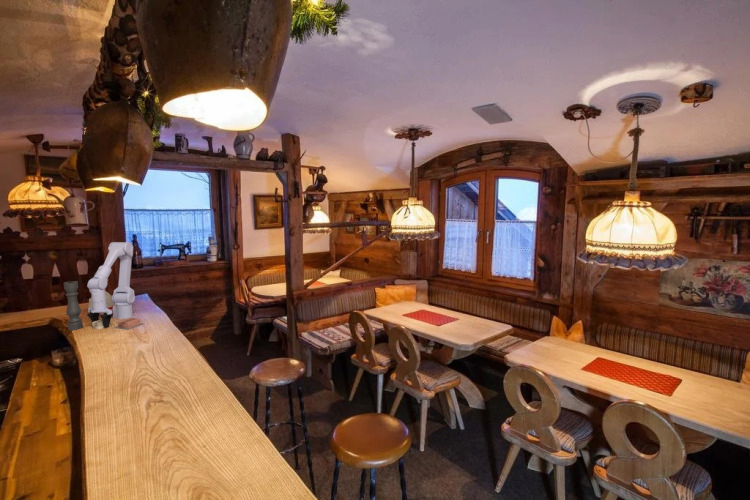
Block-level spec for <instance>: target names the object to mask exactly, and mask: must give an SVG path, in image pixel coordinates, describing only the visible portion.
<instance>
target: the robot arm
mask: <svg viewBox="0 0 750 500" xmlns="http://www.w3.org/2000/svg"><path fill="white" fill-rule="evenodd" d="M107 250H108V253H107V256H106V258H105V261H104V263H103V264H102V265H100V266H99V267H98V269H97V271H96V272H95V274H94V276H93V277H92V278H90V279H89V280H88V282H87V286H86V287H87V288H88V290H89V293H90V295H91V297H92V306H93V308H89V309H87V311H88V313H87V314H86V315H87V317H88V318H89V319H90V320H91V323H92V322H95V321H98V320H102V321H103V325H104V328H103V329H106V328H110V326H109V324H110V325H111V319H112V317H113V319H118V320H119V319H120V320H125V319H128V318H133V316H134V314H133V303H134V302H135V300H136V296H135V290H134V289H133V288H132V287H130V286H131V273H132V262H133V261H132V260H133V256H134V245H133V244H132V243H131V242H129V241H127V242H124V241H123V242H121V241H118V242H115V241H112V242H110V244H109V245H108V247H107ZM118 258H119V260H120V262H119V273H118V274H119V275H118V285H117V287H116V288H115V289H114V290H113V294H112V295H111V296H112V301H113V303H115V305H114V306H113V309H111V310H109V309H107V308H106V297H105V288H106V289H107V287H108V281H109V276H110V275H111V273H112V270H113V269H112V266H113V265H114V263H115V261H116V260H117V259H118ZM100 314H101V315H100Z"/></svg>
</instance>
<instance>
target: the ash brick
mask: <svg viewBox="0 0 750 500" xmlns="http://www.w3.org/2000/svg"><path fill="white" fill-rule="evenodd" d="M91 325H92V329H94V330H102V329H105V328H104V325H103V321H102V319H99V320H98V321H95V322H92V321H91ZM110 326H111V323H110V324H109V327H110Z"/></svg>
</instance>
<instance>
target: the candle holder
mask: <svg viewBox="0 0 750 500" xmlns="http://www.w3.org/2000/svg"><path fill="white" fill-rule="evenodd" d="M63 288H64V291H65V292H66V293H65V296H66V298H67V306H66V315H67V316H68V320H67V331H70V332H74V331H73V330H75V331H77V330H80V329H83V328H84V325H83V320H82V318H81V317H80V316H81V312H82V308H81V307H80V304H79V301H78V297H77V296H78V295H79V292H78V289H79V282H78V280H75V281H74V280H73V281H72V280H71V281H65V282H63Z"/></svg>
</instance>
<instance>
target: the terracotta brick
mask: <svg viewBox="0 0 750 500" xmlns="http://www.w3.org/2000/svg"><path fill="white" fill-rule="evenodd" d="M140 323H141V319H140V318H136V317H130V318H126V319H120V320H118V321H117V326H118V327H120V328H127V329H128V328H131V327H134V326H137V325H140Z"/></svg>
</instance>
